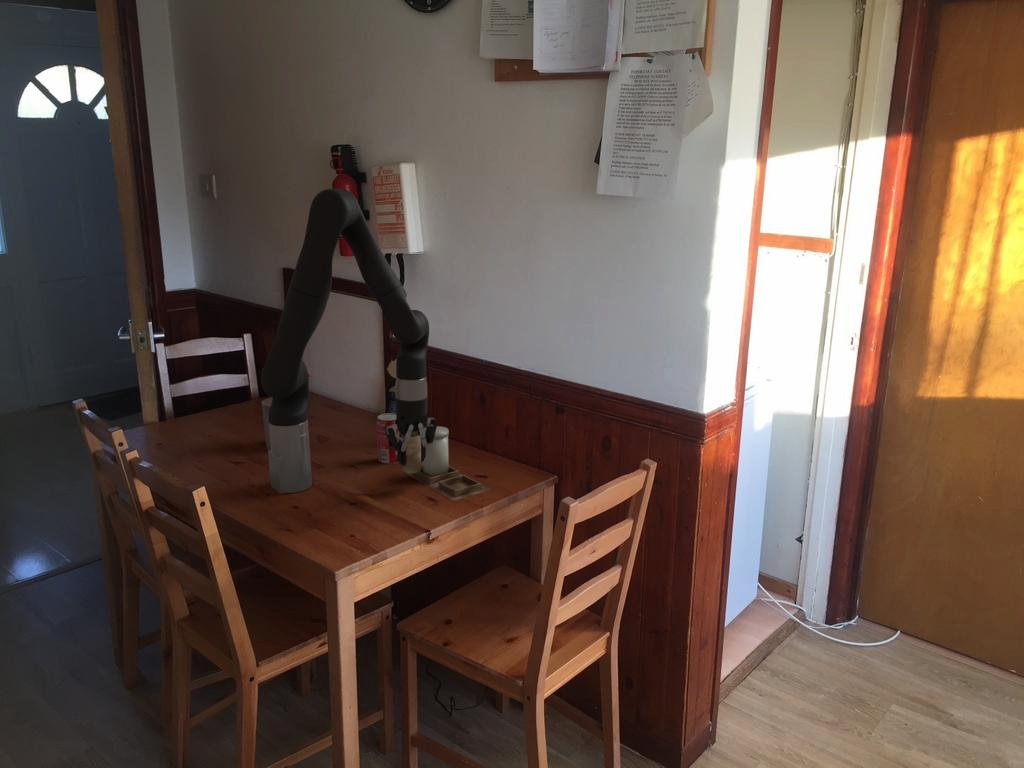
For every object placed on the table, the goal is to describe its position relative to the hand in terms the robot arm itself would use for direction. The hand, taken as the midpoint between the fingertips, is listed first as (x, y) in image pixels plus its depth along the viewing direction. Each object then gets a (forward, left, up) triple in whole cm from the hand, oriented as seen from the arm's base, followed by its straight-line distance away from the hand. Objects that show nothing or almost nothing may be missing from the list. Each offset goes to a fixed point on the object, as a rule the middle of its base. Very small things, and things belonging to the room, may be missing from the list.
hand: (411, 462), depth 205 cm
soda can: (+6, +22, -8) cm, 24 cm away
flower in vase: (+18, +32, -8) cm, 38 cm away
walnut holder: (+9, -1, -8) cm, 12 cm away
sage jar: (+9, +4, -7) cm, 12 cm away
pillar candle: (-12, +52, -8) cm, 54 cm away
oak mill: (0, 0, -2) cm, 2 cm away
